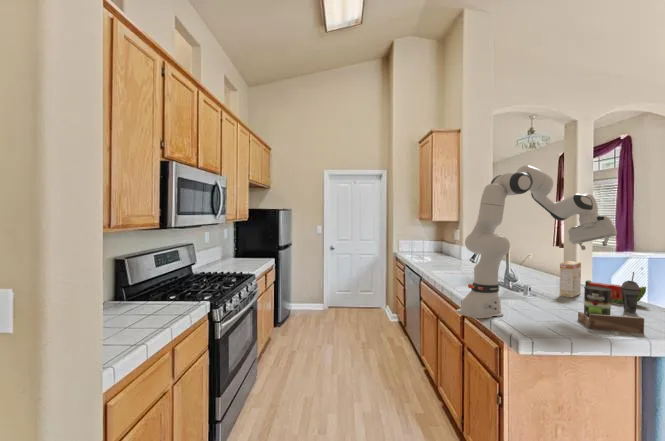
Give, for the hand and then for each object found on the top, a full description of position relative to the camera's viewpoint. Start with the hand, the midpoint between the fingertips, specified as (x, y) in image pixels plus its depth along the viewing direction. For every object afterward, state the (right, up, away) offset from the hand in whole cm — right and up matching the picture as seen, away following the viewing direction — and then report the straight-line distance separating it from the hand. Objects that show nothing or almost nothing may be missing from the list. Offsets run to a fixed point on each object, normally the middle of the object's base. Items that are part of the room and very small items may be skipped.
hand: (594, 247), depth 182 cm
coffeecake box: (+12, -31, +37) cm, 50 cm away
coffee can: (-7, -32, -11) cm, 35 cm away
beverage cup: (+17, -32, -1) cm, 37 cm away
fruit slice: (+26, -32, +20) cm, 46 cm away
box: (-10, -32, -22) cm, 40 cm away
